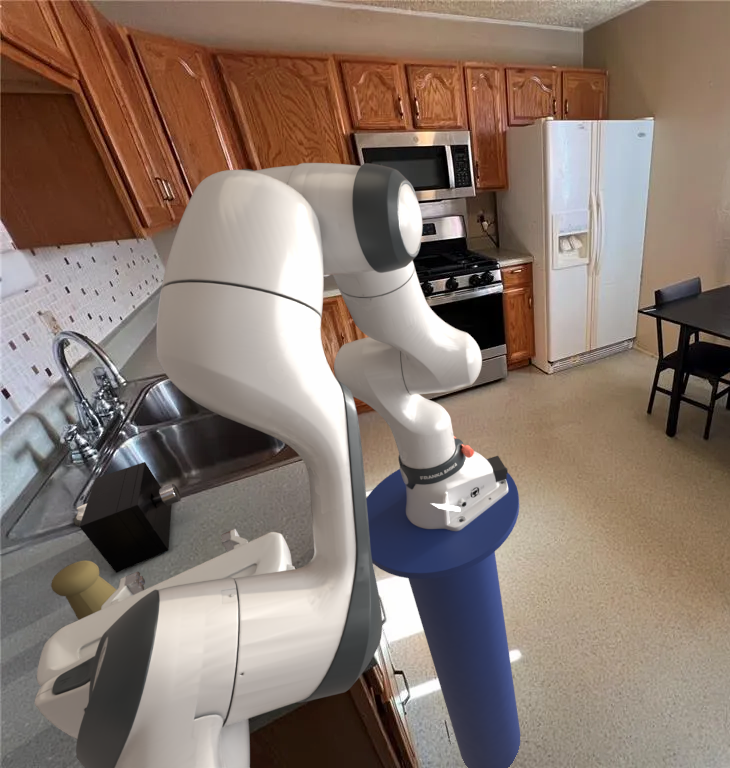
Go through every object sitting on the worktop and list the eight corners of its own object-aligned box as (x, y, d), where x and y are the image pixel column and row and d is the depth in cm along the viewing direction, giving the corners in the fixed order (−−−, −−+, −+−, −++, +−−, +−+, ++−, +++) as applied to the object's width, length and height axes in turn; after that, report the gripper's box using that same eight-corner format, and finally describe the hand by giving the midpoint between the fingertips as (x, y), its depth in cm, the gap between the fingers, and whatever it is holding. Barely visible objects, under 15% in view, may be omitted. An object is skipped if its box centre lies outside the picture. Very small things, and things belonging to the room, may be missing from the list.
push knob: (181, 493, 87) (173, 480, 85) (181, 504, 84) (172, 489, 82) (150, 505, 84) (141, 491, 82) (149, 516, 81) (139, 502, 80)
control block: (171, 504, 92) (145, 461, 86) (168, 550, 80) (137, 504, 74) (126, 521, 88) (95, 478, 82) (116, 573, 76) (79, 526, 71)
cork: (96, 604, 71) (57, 561, 65) (137, 592, 72) (103, 549, 67) (75, 638, 65) (32, 593, 60) (120, 624, 67) (81, 580, 62)
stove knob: (75, 513, 92) (67, 504, 90) (117, 496, 96) (110, 487, 94) (73, 531, 87) (65, 521, 85) (118, 512, 91) (111, 502, 89)
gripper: (292, 570, 41) (272, 494, 51) (3, 718, 31) (50, 587, 41) (312, 610, 44) (289, 530, 54) (54, 755, 34) (86, 624, 44)
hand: (184, 555), depth 48 cm, fingers open, 8 cm apart
